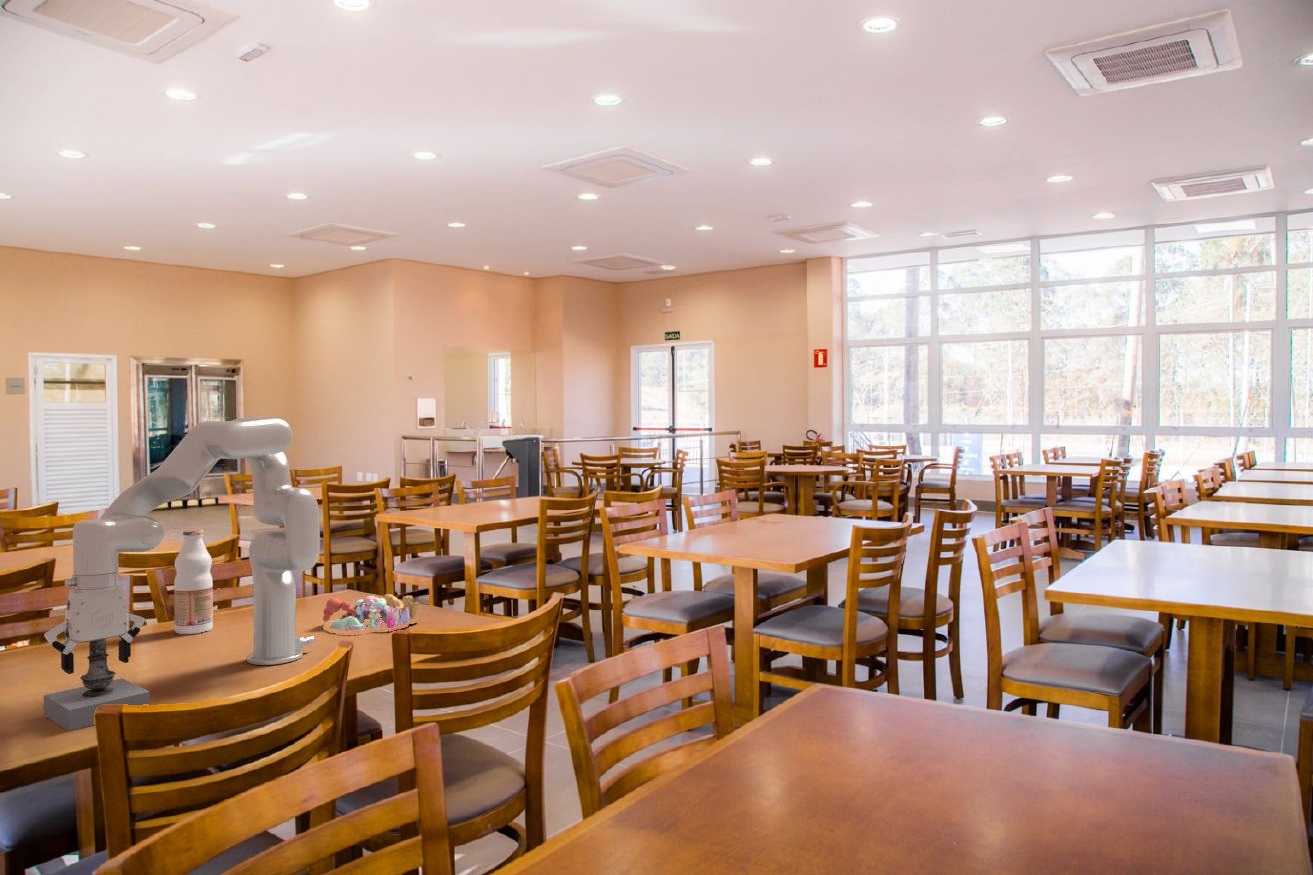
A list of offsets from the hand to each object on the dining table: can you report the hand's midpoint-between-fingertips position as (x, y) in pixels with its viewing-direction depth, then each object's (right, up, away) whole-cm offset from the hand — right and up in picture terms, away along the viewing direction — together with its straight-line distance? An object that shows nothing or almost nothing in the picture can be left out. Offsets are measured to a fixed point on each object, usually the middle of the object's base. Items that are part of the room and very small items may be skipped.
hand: (96, 666), depth 169 cm
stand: (0, -9, 0) cm, 9 cm away
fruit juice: (-17, -8, +66) cm, 69 cm away
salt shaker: (0, -6, 0) cm, 6 cm away
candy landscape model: (+30, -9, +74) cm, 80 cm away
